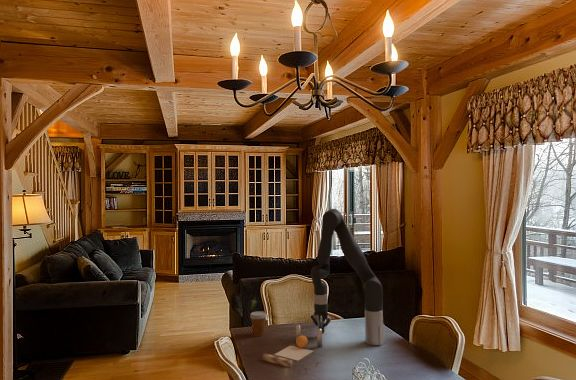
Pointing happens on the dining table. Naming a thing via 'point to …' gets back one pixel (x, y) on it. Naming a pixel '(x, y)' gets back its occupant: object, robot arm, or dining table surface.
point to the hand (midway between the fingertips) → (321, 333)
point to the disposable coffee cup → (258, 322)
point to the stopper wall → (278, 360)
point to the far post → (298, 330)
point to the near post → (319, 337)
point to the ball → (302, 341)
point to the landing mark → (294, 353)
